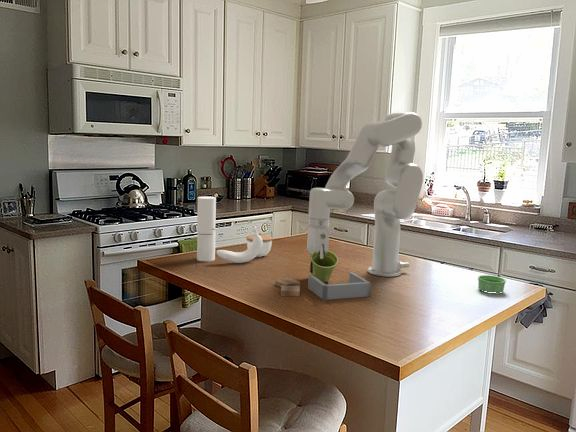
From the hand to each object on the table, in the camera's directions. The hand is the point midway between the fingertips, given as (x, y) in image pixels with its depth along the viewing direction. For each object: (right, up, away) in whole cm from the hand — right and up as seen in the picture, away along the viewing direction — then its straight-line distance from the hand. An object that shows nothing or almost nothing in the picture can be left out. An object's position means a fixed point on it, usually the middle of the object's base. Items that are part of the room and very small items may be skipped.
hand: (314, 272), depth 187 cm
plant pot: (+2, -1, -4) cm, 4 cm away
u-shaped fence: (+7, -4, -15) cm, 17 cm away
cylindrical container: (-43, +3, +21) cm, 48 cm away
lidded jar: (-22, +4, +32) cm, 39 cm away
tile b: (-9, -5, -19) cm, 21 cm away
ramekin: (+60, -6, -8) cm, 61 cm away
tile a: (-10, -4, -11) cm, 15 cm away
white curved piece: (-29, +2, +18) cm, 34 cm away
